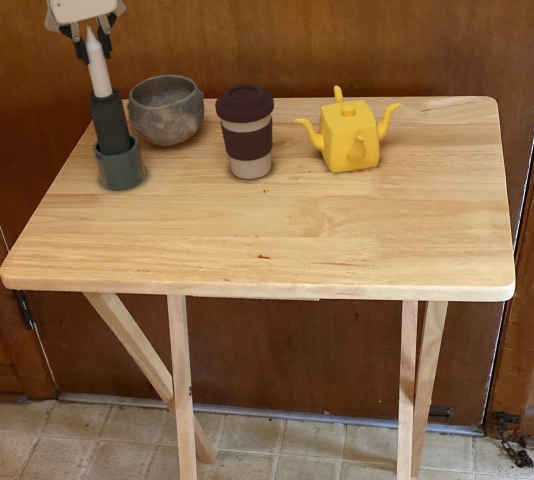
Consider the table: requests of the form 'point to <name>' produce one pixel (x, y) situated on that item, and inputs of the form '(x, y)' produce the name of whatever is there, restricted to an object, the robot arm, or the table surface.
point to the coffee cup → (247, 129)
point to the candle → (105, 103)
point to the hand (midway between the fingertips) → (95, 58)
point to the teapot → (348, 134)
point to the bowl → (166, 109)
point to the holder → (120, 167)
